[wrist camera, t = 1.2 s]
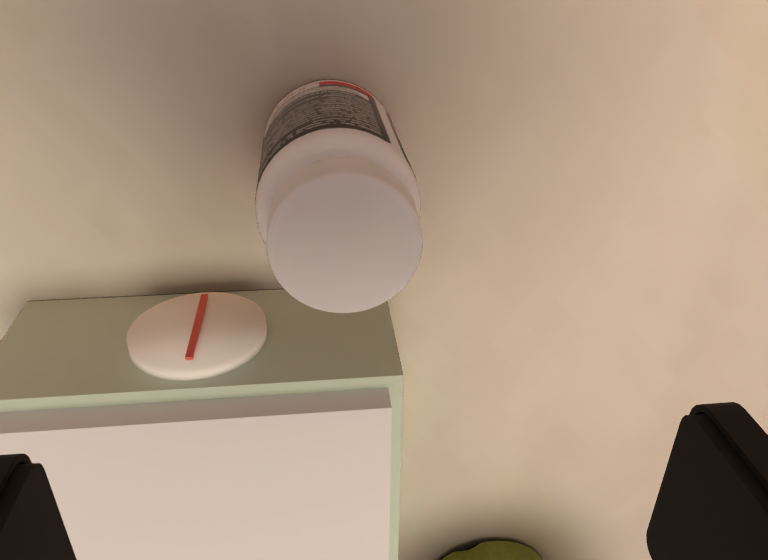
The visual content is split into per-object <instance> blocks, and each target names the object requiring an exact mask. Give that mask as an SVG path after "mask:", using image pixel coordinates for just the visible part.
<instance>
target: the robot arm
mask: <svg viewBox="0 0 768 560" xmlns="http://www.w3.org/2000/svg"><path fill="white" fill-rule="evenodd" d="M646 536H647V546H648V550H649V553H650V555H651V558H652V560H768V435H767V434H766V433H765V432H764V430H763V429H762V428H761V427H760V426H759V425H758V424H757V422H756V421H755V420H754V419H753V418H752V417H751V416H750V414H749V413H748V412H747V411H746V410H745V409H744V408H743V407H742V406H741V405H740V404H737V403H735V402H729V403H715V404H701V405H696V406H695V407H693V408H692V410H691V412H690V414H689V415H685V416H684V417H683V418H682V420H681V422H680V425H679V428H678V432H677V435H676V438H675V441H674V445H673V448H672V451H671V454H670V458H669V461H668V464H667V468H666V471H665V474H664V477H663V481H662V484H661V487H660V490H659V494H658V497H657V500H656V503H655V507H654V510H653V513H652V517H651V520H650V523H649V526H648V530H647V535H646ZM0 560H77V559H76V556H75V554H74V551H73V548H72V545H71V542H70V540H69V537H68V534H67V531H66V528H65V525H64V523H63V520H62V517H61V514H60V511H59V509H58V506H57V503H56V500H55V497H54V494H53V492H52V489H51V486H50V483H49V480H48V478H47V475H46V472H45V469H44V467H43V465H42V464H40V463H32V462H31V460H30V458H29V456H27V455H26V454H7V455H0Z"/></svg>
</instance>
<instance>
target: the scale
mask: <svg viewBox="0 0 768 560" xmlns="http://www.w3.org/2000/svg"><path fill="white" fill-rule="evenodd" d="M402 405H403V371H402V367H401V362H400V357H399V353H398V348H397V343H396V338H395V334H394V329H393V324H392V320H391V315H390V310H389V306H388V301H386V302H384V303H382V304H380V305H378V306H376V307H373V308H371V309H368V310H364V311H360V312H352V313H334V312H326V311H322V310H318V309H315V308H312V307H310V306H307V305H305V304H303V303H302V302H300V301H298V300H297V299H295V298H294V297H293V296H291V295H290V294H289V293H288V292H287V291H286V290H285V289H277V290H256V291H235V292H203V293H193V294H172V295H151V296H130V297H110V298H89V299H68V300H47V301H28V302H27V303H26V305H25V306H24V308H23V309H22V311H21V312H20V313H19V315H18V316H17V318H16V319H15V321H14V322H13V324H12V325H11V327H10V328H9V329H8V331H7V332H6V334H5V335H4V337H3V338H2V340H1V341H0V455H7V454H26V455H27V456H29V458H30V460H31V462H32V463H40V464H42V465H43V467H44V469H45V472H46V475H47V478H48V480H49V483H50V486H51V489H52V492H53V494H54V497H55V500H56V503H57V506H58V509H59V511H60V514H61V517H62V520H63V523H64V525H65V528H66V531H67V534H68V537H69V540H70V542H71V545H72V548H73V551H74V554H75V556H76V559H77V560H398V544H399V509H400V474H401V439H402Z"/></svg>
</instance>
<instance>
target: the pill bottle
mask: <svg viewBox="0 0 768 560" xmlns="http://www.w3.org/2000/svg"><path fill="white" fill-rule="evenodd" d="M420 210H421V201H420V192H419V188H418V184H417V181H416V178H415V175H414V172H413V170H412V168H411V165H410V163H409V161H408V159H407V157H406V154H405V152H404V150H403V148H402V146H401V143H400V141H399V139H398V136H397V134H396V131H395V128H394V126H393V123H392V121H391V119H390V117H389V115H388V113H387V112H386V110H385V109H384V107H383V106H382V105H381V103H380V102H379V101H378V100H377V99H376V98H375V97H374V96H373V95H371V94H370V93H369V92H367V91H366V90H364V89H363V88H361V87H359V86H356V85H354V84H351V83H348V82H344V81H339V80H320V81H315V82H312V83H309V84H306V85H303V86H301V87H299V88H297V89H295V90H294V91H292V92H290V93H289V94H288V95H287V96H285V97H284V98H283V99H282V100H281V101H280V102H279V103H278V105H277V106H276V107H275V109H274V110H273V112H272V114H271V116H270V118H269V120H268V122H267V125H266V129H265V133H264V138H263V147H262V155H261V163H260V170H259V177H258V184H257V190H256V197H255V211H256V219H257V224H258V228H259V231H260V234H261V236H262V239H263V241H264V243H265V244H266V249H267V256H268V261H269V264H270V267H271V269H272V271H273V274H274V275H275V277H276V279H277V280H278V282H279V283H280V284H281V286H282V287H283V288H284V289H285V290H286V291H287V292H288V293H289V294H290V295H291V296H293V297H294V298H295V299H297V300H298V301H300V302H302V303H303V304H305V305H307V306H310V307H312V308H315V309H318V310H322V311H326V312H334V313H352V312H360V311H364V310H368V309H371V308H373V307H376V306H378V305H380V304H382V303H384V302H386V301H388V300H390V299H391V298H392V297H394V296H395V295H396V294H397V293H398V292H400V291H401V290H402V289H403V288H404V287H405V286H406V284H407V283H408V282H409V280H410V279H411V278H412V276H413V274H414V273H415V271H416V269H417V266H418V263H419V260H420V257H421V253H422V230H421V225H420V221H419V218H420Z"/></svg>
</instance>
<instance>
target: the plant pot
mask: <svg viewBox="0 0 768 560" xmlns="http://www.w3.org/2000/svg"><path fill="white" fill-rule="evenodd" d="M442 560H543V559H542V558H541V556H540V555H539V554H538V553H537V552H535V551H534V550H533V549H531V548H529V547H527V546H525V545H523V544H520V543H516V542H510V541H487V542H482V543H480V544H478V545H477V546H476V547H474V548H472V549H469V550H466V551H461V552H459V551H455V552H452V553H450V554H449V555H447V556H446V557H444V558H443V559H442Z"/></svg>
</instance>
